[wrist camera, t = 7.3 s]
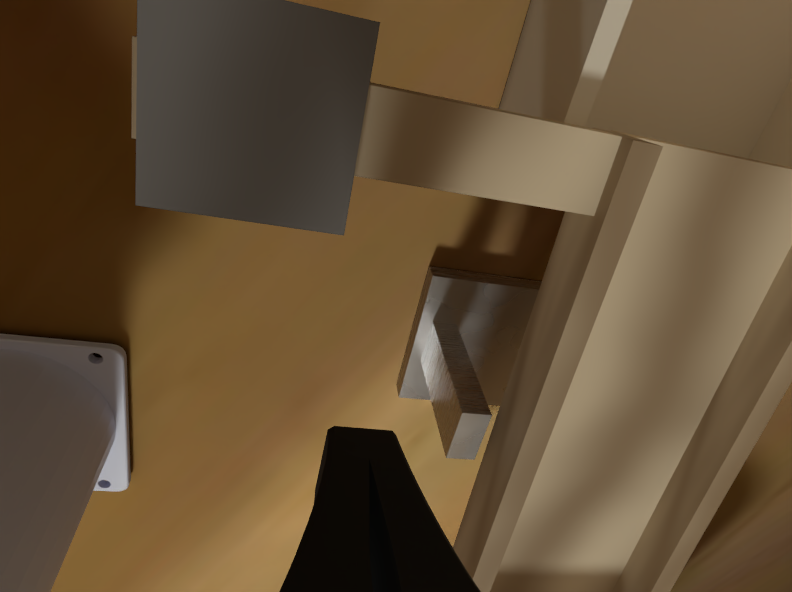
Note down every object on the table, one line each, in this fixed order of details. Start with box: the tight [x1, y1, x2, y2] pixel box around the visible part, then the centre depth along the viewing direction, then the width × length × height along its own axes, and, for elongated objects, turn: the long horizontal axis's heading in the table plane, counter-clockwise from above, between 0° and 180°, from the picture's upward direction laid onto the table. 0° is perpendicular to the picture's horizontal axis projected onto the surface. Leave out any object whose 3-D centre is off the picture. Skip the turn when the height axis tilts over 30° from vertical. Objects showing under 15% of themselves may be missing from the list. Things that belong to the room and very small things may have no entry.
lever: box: [131, 0, 792, 592], centre depth 17 cm, size 19×21×3 cm
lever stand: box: [397, 266, 542, 459], centre depth 21 cm, size 12×6×6 cm, turn 78°
